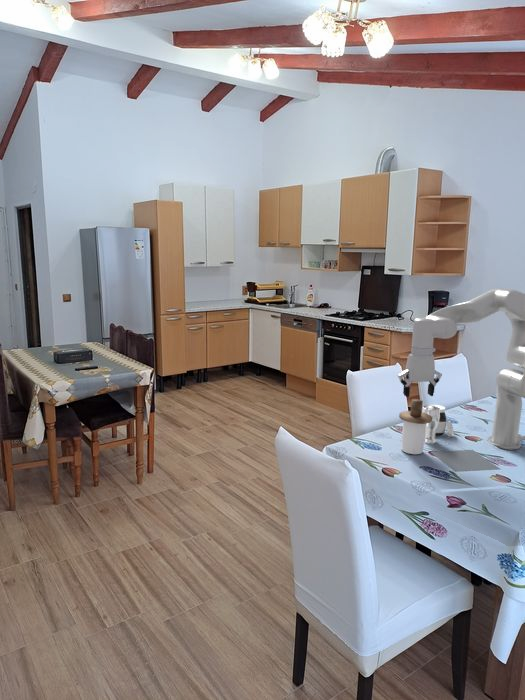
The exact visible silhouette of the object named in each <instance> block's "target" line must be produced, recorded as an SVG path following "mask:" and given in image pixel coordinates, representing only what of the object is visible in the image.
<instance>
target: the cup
mask: <svg viewBox="0 0 525 700" xmlns="http://www.w3.org/2000/svg"><path fill="white" fill-rule="evenodd" d="M425 432H426V424H417V423H411V422H407V421H404V420H403V425H402V433H401V450H402V452H404V453H406V454H409V455H410V454H411V455H420V454H423V452H424V446H425V442H424V441H425Z"/></svg>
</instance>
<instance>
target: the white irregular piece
mask: <svg viewBox="0 0 525 700" xmlns="http://www.w3.org/2000/svg"><path fill="white" fill-rule="evenodd" d="M433 405H434V406H437V407H439V408H440V419H439V424H438V428H437V431H436V436H435V437H439V436H443V435H445V432H446V433H447V435H448V437H449V438H453V437H454V426H453V423H452V421H451V420H447V414H446V407H445V406H443V405H440V404H433Z"/></svg>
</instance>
